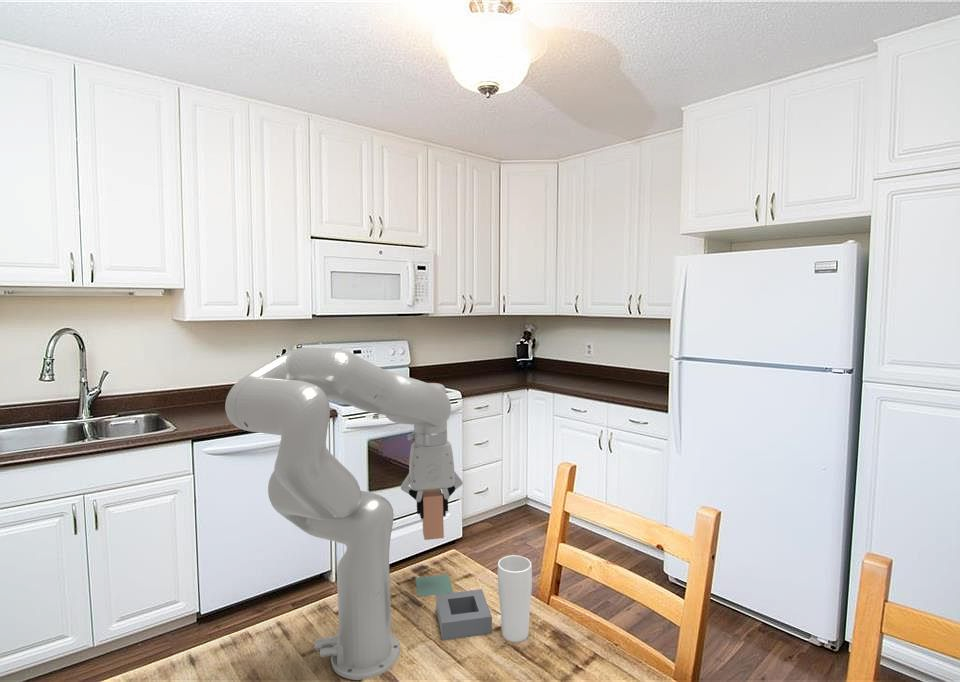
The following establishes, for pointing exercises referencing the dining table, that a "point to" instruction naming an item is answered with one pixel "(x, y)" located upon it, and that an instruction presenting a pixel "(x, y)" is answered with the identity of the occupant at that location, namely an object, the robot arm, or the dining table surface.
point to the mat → (433, 585)
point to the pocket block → (463, 614)
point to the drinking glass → (515, 596)
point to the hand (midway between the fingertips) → (432, 514)
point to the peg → (433, 514)
